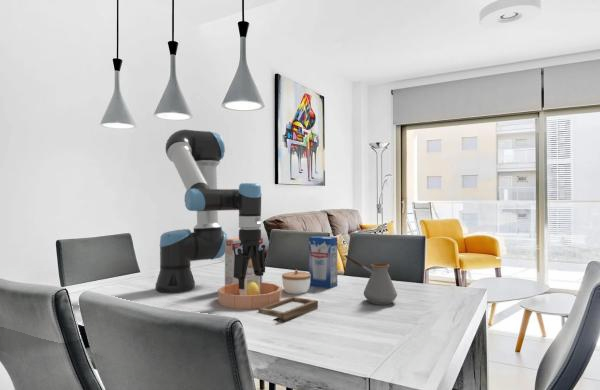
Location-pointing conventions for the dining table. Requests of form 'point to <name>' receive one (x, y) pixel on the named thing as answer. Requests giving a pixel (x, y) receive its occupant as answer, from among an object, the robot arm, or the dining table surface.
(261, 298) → the bowl
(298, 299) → the tray
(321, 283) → the milk carton
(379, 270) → the coffee pot
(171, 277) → the robot arm
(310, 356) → the dining table surface
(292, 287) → the lidded jar
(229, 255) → the cracker box
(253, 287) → the ball
